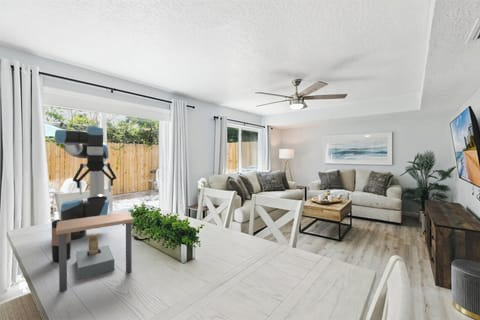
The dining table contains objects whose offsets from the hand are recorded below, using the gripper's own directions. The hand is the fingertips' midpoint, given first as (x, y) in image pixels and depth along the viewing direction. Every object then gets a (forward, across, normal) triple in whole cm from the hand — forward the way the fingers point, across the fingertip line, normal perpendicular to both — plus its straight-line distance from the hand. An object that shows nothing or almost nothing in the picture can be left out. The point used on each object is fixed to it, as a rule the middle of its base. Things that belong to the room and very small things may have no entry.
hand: (95, 193), depth 124 cm
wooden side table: (+33, -2, -28) cm, 43 cm away
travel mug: (+33, -15, -1) cm, 36 cm away
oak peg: (+33, -2, -14) cm, 36 cm away
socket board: (+33, -2, -18) cm, 37 cm away
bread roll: (+33, +27, +7) cm, 43 cm away
